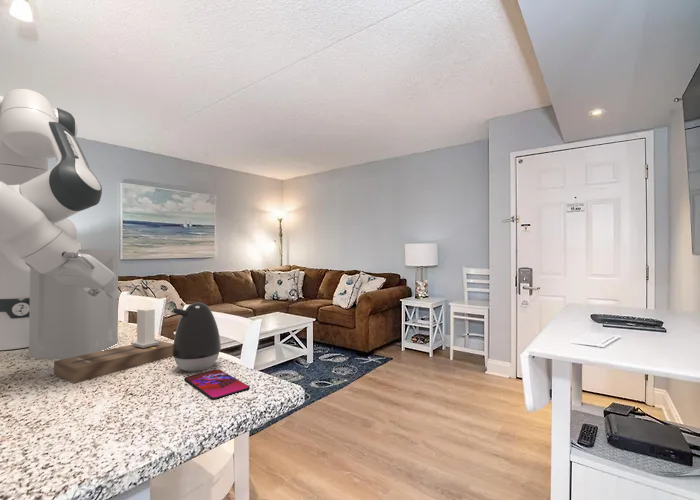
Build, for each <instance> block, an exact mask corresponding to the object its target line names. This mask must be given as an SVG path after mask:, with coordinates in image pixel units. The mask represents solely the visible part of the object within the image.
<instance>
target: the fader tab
mask: <svg viewBox="0 0 700 500" xmlns="http://www.w3.org/2000/svg"><path fill="white" fill-rule="evenodd" d="M136 312H137V313H136V315H137V316H136V320H137V321H136V341H135V342H132V343H131V345H133V346H137V347H142V348H145V347H149V346H153V345H158V344H159V342H157V341H154V340H155V330H156V329H155V325H156V323H155V320H156V319H155V316H156V315H155V312H156V311H155V309H154V308H139V309H137V310H136Z"/></svg>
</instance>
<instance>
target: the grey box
mask: <svg viewBox="0 0 700 500" xmlns="http://www.w3.org/2000/svg"><path fill="white" fill-rule="evenodd" d="M78 252H80V253H81V254H88V255H90V256H92V257H94V258H95V259H96V260H98V261H99V262H100V263H102V264H103V265H104V266H106V267H107V268H108V269H109V270H111V271H112V272H113V273H114V274H115V276H116V279H115V280H114V281H113V282H112V283H113V285H114V286H115V288H116V289H117V290H118V291H119V249H115V250H114V249H96V248H94V249H93V248H91V249H89V248H87V249H86V248H82V249H81V248H80V249H79V250H78ZM99 290H100V293H99V294H98V295H97V296H91V295H89V294H88V293H87V292H85V291H83V290H81V289H79V288H77V287H76V286H65V285H63V284H60V283H58V282H57V281H55V280H53V279H52V278H50V277H49V276H47V275H46V274H41V273H39V272H38V271H37V270H35V269H32V268H30V310H29V347H28V358H29V359H30V358H35V360H52V359H58V360H62V359H67V358H71V357H76V356H81V355H85V354H90V353H95V352H99V351H102V350H105V349H107V348H109V347H111V346H113V345H115V344H117V343H118V341H119V340H118V339H119V338H118V335H119V333H118V331H119V330H118V329H119V327H118V325H119V296H118V297H117V298H116V299H114V298H110V297H109V296H108V295H107V293H106V292H105V291H104V290H101V289H99ZM118 344H119V343H118ZM107 350H108V349H107Z"/></svg>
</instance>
